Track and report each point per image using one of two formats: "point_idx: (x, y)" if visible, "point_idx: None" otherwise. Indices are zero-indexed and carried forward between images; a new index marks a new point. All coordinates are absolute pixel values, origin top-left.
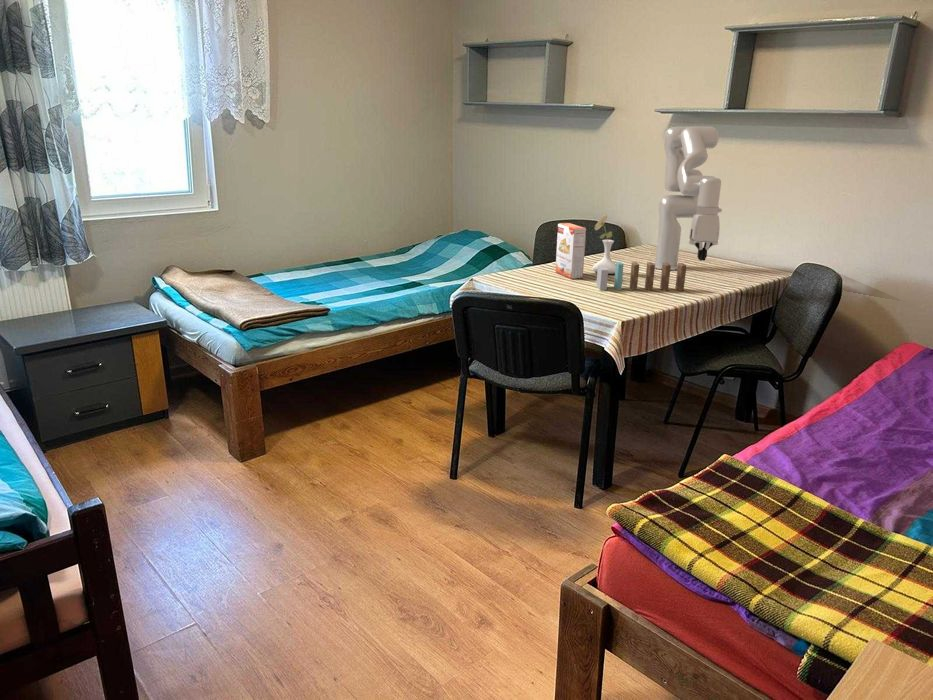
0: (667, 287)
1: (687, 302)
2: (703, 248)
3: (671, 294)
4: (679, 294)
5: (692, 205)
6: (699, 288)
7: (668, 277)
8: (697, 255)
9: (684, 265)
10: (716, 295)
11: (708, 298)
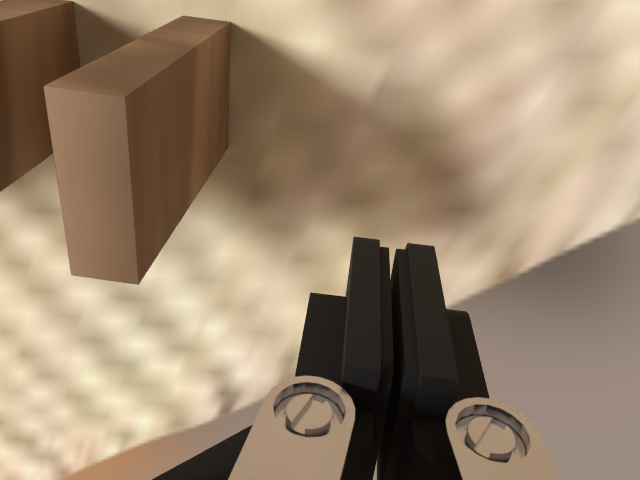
0: None
1: (158, 421)
2: (408, 469)
3: None
4: None
5: None
6: (439, 43)
7: (5, 178)
8: (309, 302)
9: (109, 276)
10: (450, 297)
11: None
